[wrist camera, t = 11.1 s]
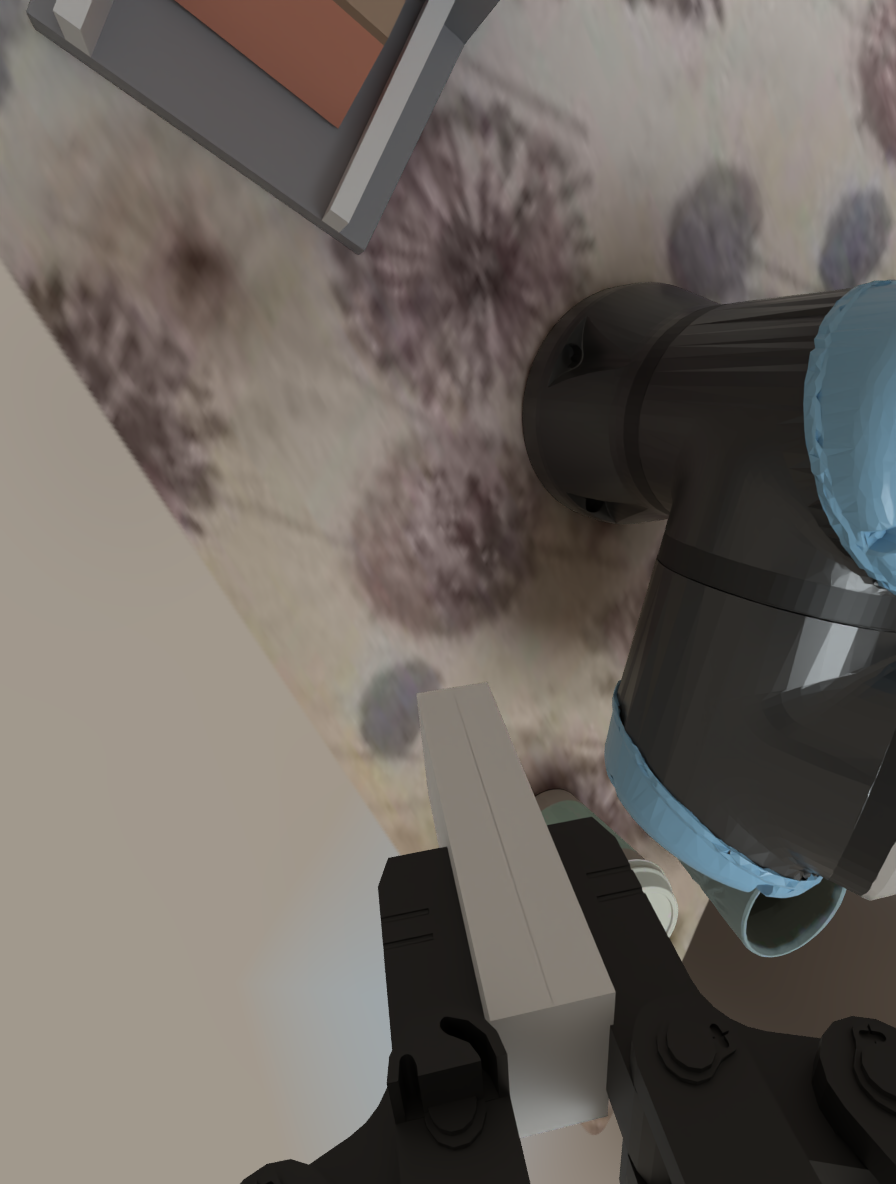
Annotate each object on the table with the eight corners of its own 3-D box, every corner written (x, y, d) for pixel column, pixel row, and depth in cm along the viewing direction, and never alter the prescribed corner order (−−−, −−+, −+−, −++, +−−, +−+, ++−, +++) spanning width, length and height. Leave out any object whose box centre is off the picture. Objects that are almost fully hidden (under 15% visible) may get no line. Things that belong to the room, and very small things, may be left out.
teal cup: (732, 834, 62) (839, 930, 52) (644, 868, 59) (740, 978, 49) (739, 748, 58) (857, 833, 48) (646, 781, 56) (750, 879, 45)
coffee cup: (481, 846, 52) (553, 972, 41) (537, 761, 51) (625, 866, 40) (555, 870, 55) (638, 990, 45) (609, 791, 54) (706, 895, 44)
